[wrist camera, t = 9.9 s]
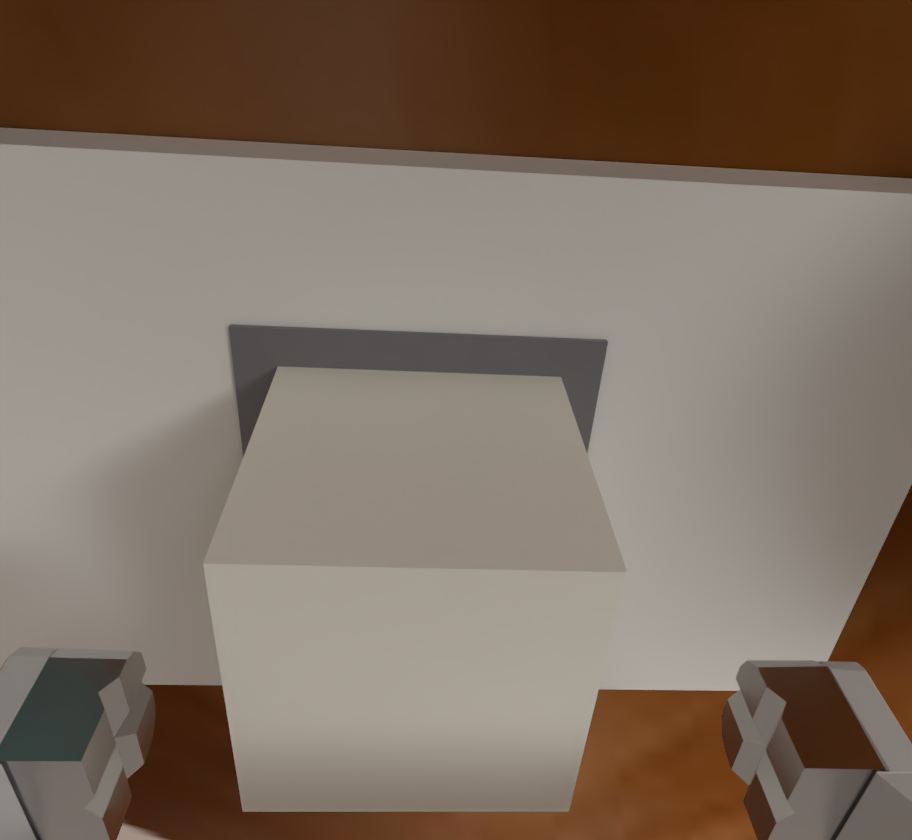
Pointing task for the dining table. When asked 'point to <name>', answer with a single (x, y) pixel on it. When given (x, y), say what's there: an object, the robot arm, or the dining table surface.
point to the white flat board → (452, 370)
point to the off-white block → (412, 594)
